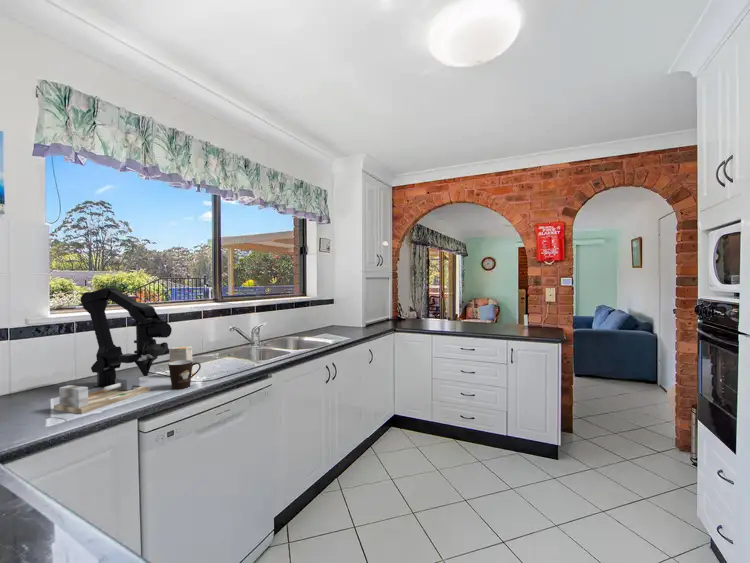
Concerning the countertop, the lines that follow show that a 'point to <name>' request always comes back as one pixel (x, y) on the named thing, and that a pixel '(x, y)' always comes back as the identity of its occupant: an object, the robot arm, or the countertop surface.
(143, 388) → the bench
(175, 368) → the coffee mug
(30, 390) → the countertop surface
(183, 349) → the supplement box
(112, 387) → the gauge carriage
